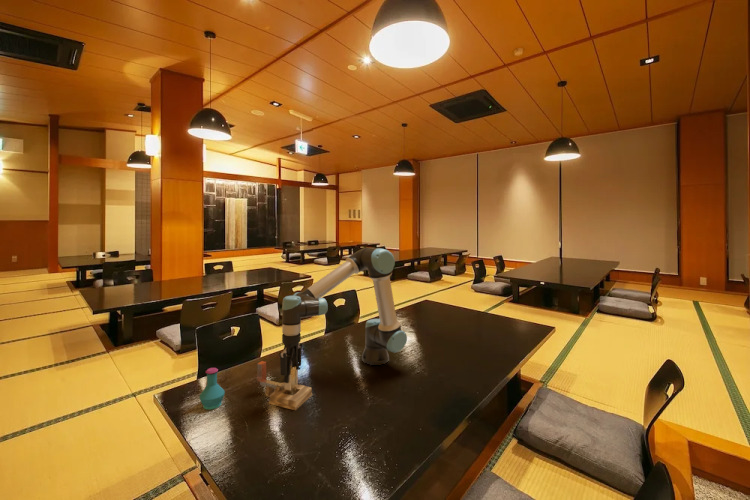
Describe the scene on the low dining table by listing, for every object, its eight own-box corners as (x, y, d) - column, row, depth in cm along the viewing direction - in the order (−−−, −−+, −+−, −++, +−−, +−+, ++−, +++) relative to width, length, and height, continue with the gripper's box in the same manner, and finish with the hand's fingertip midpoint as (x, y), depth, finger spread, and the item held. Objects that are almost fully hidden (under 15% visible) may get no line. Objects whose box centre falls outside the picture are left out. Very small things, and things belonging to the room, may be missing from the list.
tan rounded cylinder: (297, 393, 139) (297, 366, 138) (292, 397, 135) (292, 369, 134) (289, 391, 140) (290, 364, 139) (284, 395, 136) (284, 368, 136)
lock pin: (284, 387, 140) (284, 365, 140) (280, 390, 138) (280, 368, 137) (261, 381, 145) (261, 361, 144) (257, 384, 142) (257, 363, 141)
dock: (312, 394, 142) (312, 383, 141) (295, 410, 129) (295, 398, 129) (277, 387, 148) (277, 376, 148) (258, 401, 136) (258, 389, 135)
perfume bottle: (217, 396, 139) (216, 362, 138) (229, 403, 133) (228, 368, 132) (195, 406, 131) (194, 370, 130) (207, 414, 126) (206, 376, 125)
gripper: (295, 326, 145) (295, 376, 147) (270, 338, 129) (270, 394, 131) (310, 328, 142) (309, 379, 144) (286, 340, 127) (286, 398, 128)
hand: (291, 386), depth 137 cm, fingers closed on tan rounded cylinder, 4 cm apart
